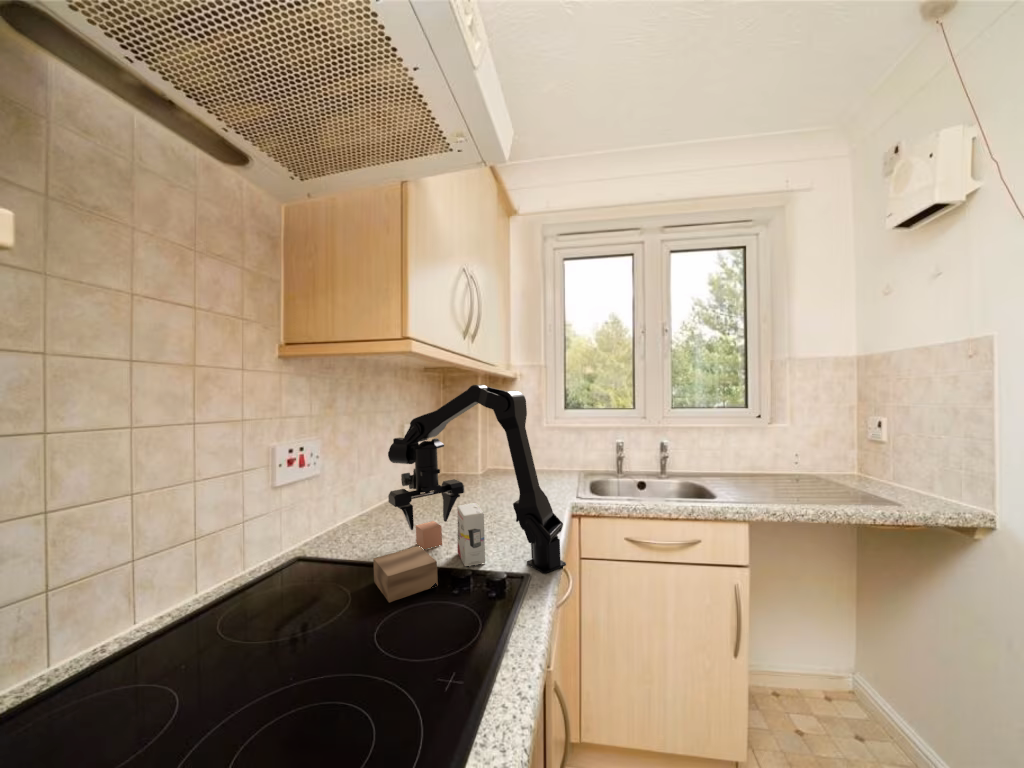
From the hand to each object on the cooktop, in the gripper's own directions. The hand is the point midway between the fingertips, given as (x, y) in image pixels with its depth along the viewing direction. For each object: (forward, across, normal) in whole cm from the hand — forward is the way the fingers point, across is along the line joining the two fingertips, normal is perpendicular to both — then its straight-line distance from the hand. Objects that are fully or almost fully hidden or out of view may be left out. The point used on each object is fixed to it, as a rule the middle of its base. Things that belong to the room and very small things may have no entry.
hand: (428, 525), depth 102 cm
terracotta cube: (+5, 0, 0) cm, 5 cm away
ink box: (+5, -4, +14) cm, 16 cm away
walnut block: (+5, +12, +16) cm, 21 cm away
